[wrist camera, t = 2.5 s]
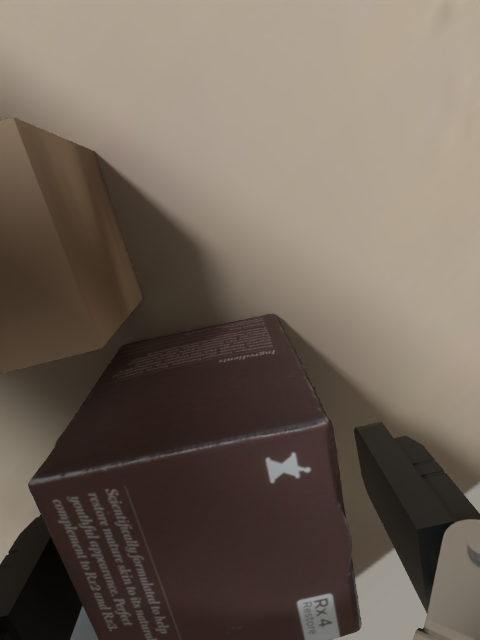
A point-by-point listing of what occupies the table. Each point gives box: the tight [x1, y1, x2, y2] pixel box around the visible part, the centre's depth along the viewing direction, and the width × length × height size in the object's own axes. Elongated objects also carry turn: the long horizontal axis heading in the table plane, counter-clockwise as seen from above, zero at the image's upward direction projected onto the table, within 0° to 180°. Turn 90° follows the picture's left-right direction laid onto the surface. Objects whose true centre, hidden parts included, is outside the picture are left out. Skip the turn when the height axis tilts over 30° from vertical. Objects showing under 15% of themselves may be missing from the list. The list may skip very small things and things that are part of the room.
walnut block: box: [0, 117, 143, 374], centre depth 11 cm, size 5×5×5 cm
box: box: [28, 314, 361, 640], centre depth 11 cm, size 6×6×7 cm
